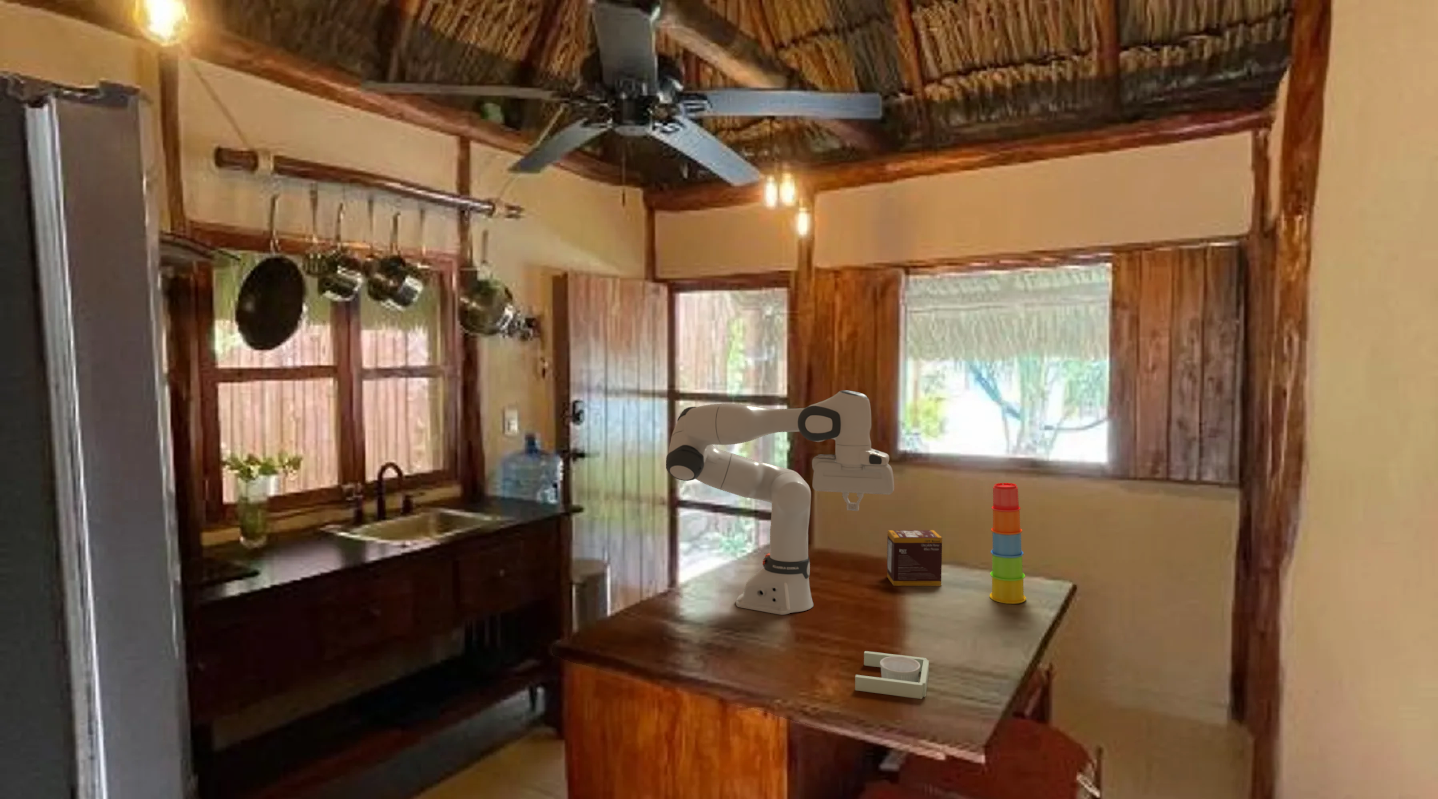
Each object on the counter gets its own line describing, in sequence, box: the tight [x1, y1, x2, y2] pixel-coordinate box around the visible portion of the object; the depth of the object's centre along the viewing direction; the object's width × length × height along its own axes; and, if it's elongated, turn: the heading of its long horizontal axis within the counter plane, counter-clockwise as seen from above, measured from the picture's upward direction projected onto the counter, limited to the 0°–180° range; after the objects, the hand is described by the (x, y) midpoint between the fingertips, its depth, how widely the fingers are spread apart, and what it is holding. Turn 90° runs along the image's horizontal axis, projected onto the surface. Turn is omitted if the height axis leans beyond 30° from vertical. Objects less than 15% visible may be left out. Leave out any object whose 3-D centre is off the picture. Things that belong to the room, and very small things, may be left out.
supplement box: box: [886, 529, 943, 587], centre depth 251 cm, size 10×15×16 cm
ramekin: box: [880, 656, 920, 682], centre depth 175 cm, size 9×9×4 cm
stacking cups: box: [989, 482, 1027, 605], centre depth 232 cm, size 10×10×35 cm
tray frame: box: [854, 650, 930, 700], centre depth 176 cm, size 15×15×3 cm
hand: (852, 510), depth 197 cm, fingers closed
